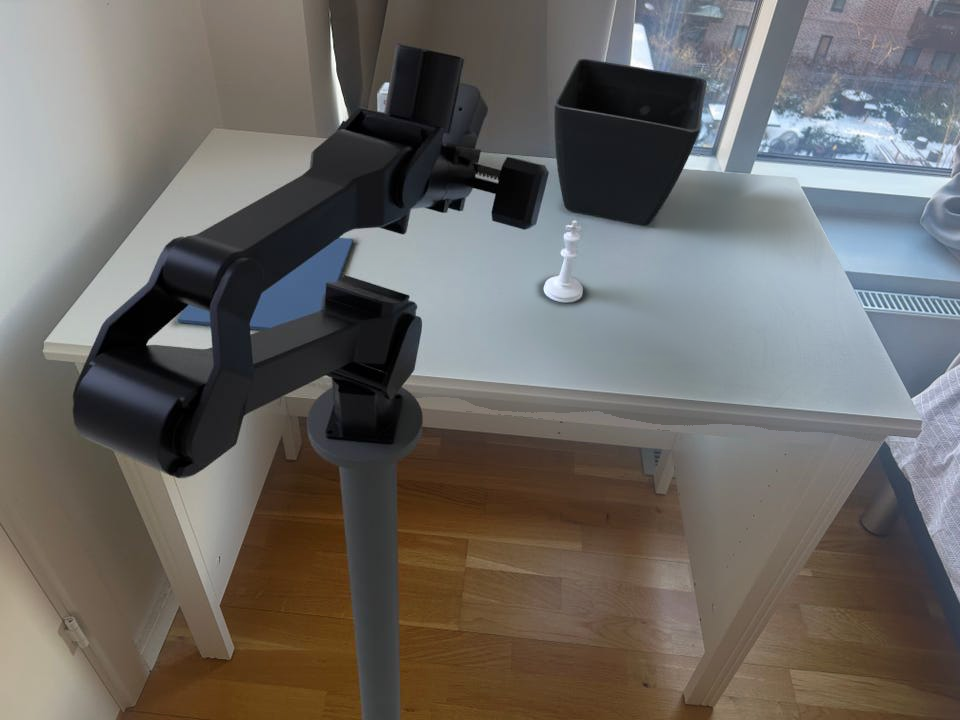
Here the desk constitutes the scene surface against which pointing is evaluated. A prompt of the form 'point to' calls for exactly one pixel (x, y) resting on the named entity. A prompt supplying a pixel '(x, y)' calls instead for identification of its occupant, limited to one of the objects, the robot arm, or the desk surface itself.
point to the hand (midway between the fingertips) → (479, 176)
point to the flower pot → (624, 138)
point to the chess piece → (566, 271)
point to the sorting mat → (290, 290)
